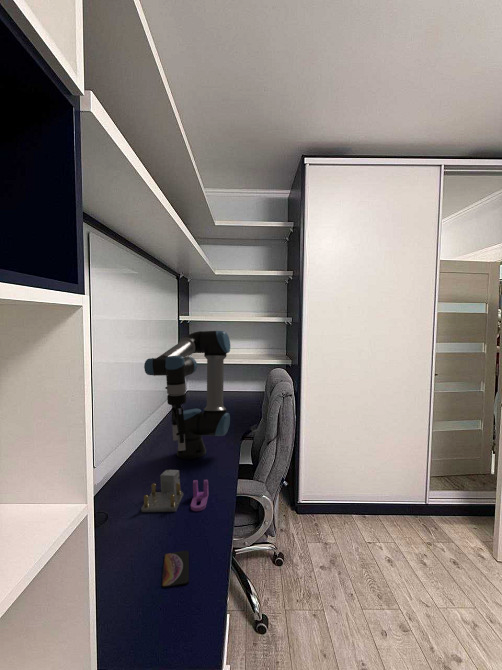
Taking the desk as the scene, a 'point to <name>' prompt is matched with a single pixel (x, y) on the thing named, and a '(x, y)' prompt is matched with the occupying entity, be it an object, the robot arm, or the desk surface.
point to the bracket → (199, 496)
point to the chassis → (162, 500)
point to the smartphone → (175, 569)
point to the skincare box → (169, 480)
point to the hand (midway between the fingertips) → (179, 445)
